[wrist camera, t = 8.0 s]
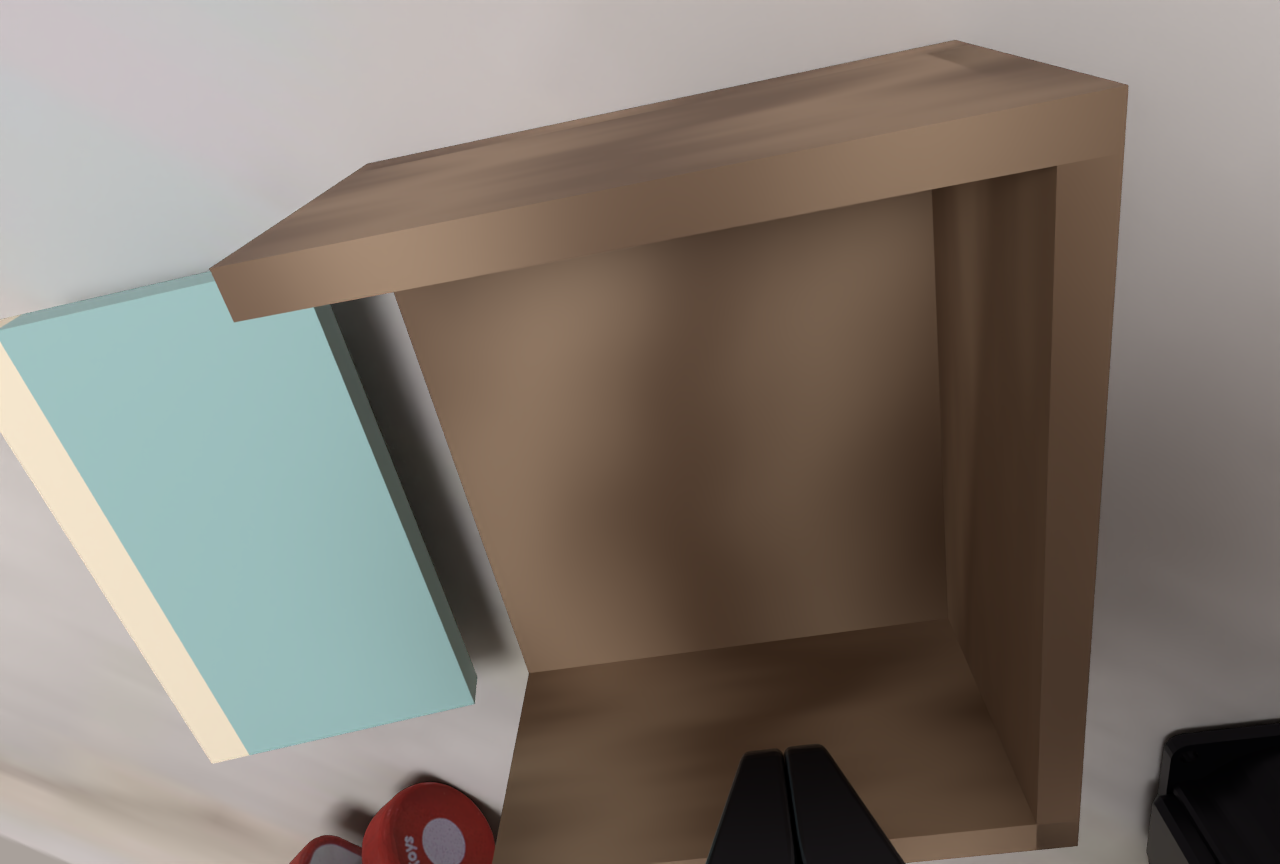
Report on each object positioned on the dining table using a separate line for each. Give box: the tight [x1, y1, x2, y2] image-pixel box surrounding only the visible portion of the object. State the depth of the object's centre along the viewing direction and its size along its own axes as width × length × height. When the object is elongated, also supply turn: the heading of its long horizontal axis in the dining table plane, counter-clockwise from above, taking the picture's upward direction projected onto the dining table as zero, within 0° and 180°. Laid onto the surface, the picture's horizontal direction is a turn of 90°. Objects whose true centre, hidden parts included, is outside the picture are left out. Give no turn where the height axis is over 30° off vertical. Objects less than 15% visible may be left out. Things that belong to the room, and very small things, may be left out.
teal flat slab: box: [0, 271, 477, 764], centre depth 20 cm, size 1×12×7 cm
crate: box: [210, 40, 1128, 864], centre depth 17 cm, size 12×14×7 cm
